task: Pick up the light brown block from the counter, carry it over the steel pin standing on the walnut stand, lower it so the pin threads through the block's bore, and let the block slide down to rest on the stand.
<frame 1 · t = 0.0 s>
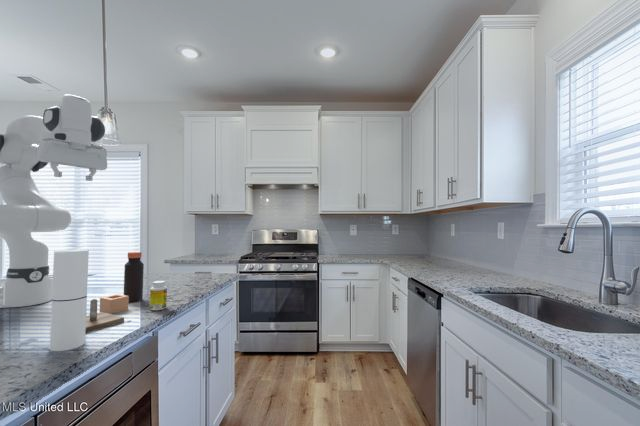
hand: (74, 178, 107), 48 cm above the worktop, tool pointing down, fingers open, 8 cm apart
pin stand: (93, 324, 95), on the worktop
supplement bottle: (158, 309, 113), on the worktop
light brown block: (114, 310, 110), on the worktop
cylindrical container: (67, 346, 79), on the worktop
vinegar: (133, 300, 124), on the worktop
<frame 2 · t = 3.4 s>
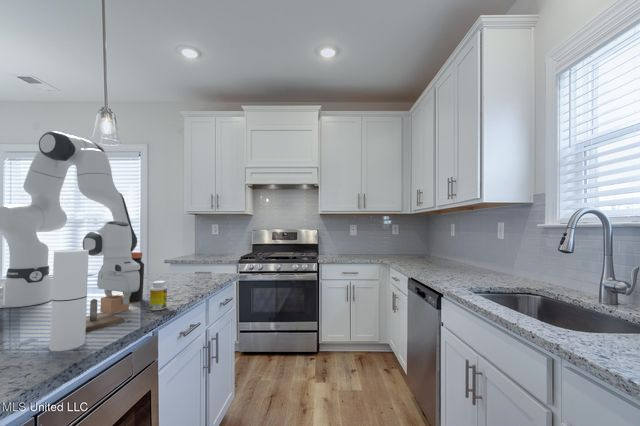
hand: (117, 302, 110), 3 cm above the worktop, tool pointing down, fingers open, 8 cm apart
light brown block: (114, 310, 110), on the worktop, touching gripper
vinegar: (133, 300, 124), on the worktop, touching arm
everything else where it was.
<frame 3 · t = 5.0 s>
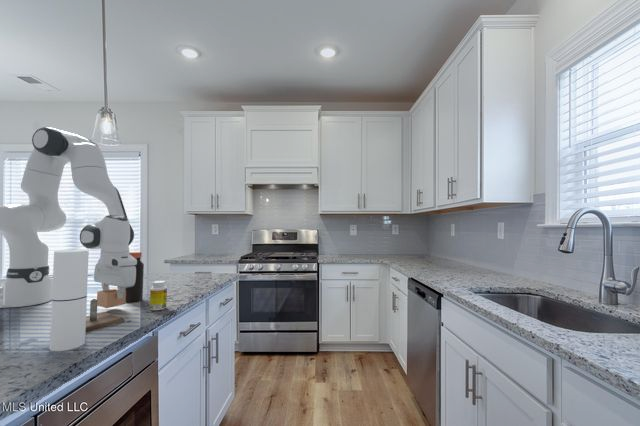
hand: (112, 296, 110), 5 cm above the worktop, tool pointing down, fingers closed on light brown block, 6 cm apart
light brown block: (111, 304, 110), point 2 cm above the worktop, touching gripper
vinegar: (133, 300, 124), on the worktop
everything else where it was.
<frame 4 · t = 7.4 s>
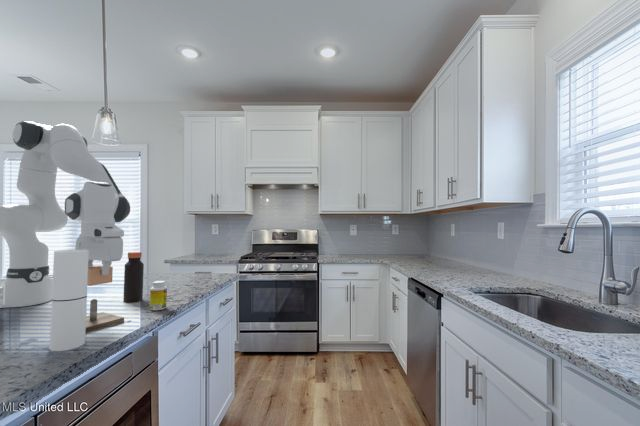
hand: (97, 274, 96), 16 cm above the worktop, tool pointing down, fingers closed on light brown block, 6 cm apart
light brown block: (95, 283, 96), point 13 cm above the worktop, touching gripper
everything else where it was.
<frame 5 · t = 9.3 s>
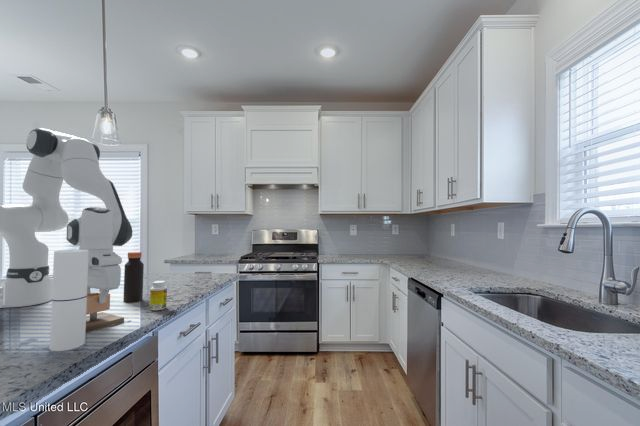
hand: (94, 301, 95), 7 cm above the worktop, tool pointing down, fingers closed on light brown block, 6 cm apart
light brown block: (93, 310, 95), point 5 cm above the worktop, touching gripper
everything else where it was.
when the fingers open (5 cm above the worktop, at t = 11.0 s): light brown block stays where it is, resting on pin stand.
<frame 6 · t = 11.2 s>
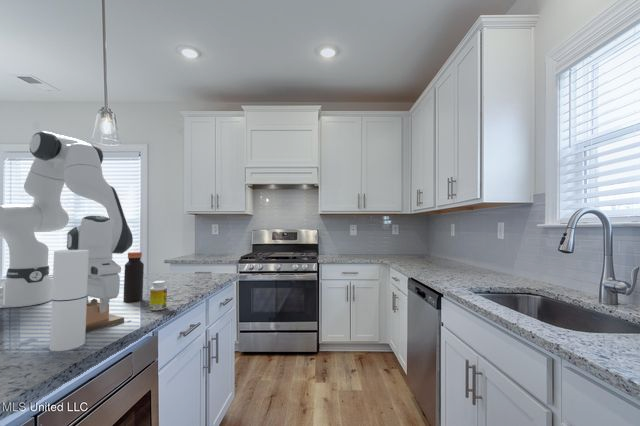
hand: (93, 310, 95), 5 cm above the worktop, tool pointing down, fingers open, 8 cm apart
light brown block: (91, 320, 95), point 1 cm above the worktop, touching pin stand
everything else where it was.
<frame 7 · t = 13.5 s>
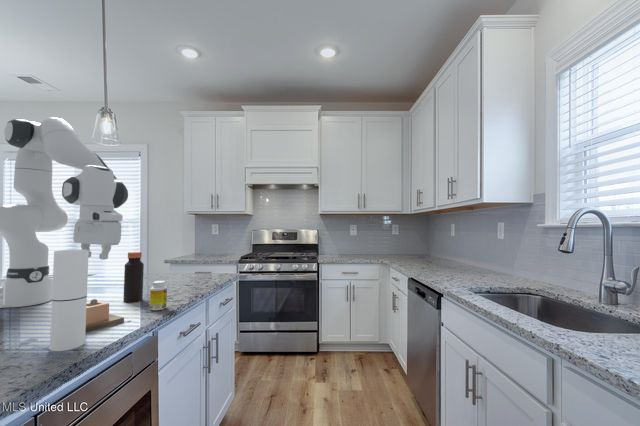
hand: (95, 258, 96), 21 cm above the worktop, tool pointing down, fingers open, 8 cm apart
nothing on the worktop moved.
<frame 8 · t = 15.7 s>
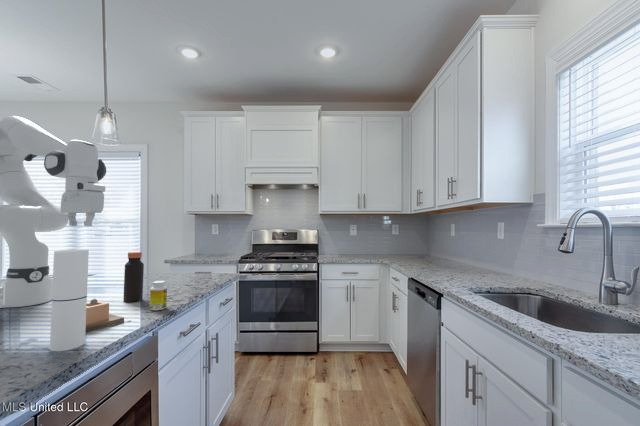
hand: (80, 226, 104), 31 cm above the worktop, tool pointing down, fingers open, 8 cm apart
nothing on the worktop moved.
at the end: light brown block 0.4 cm off-centre on the pin stand, point 1.5 cm above the pin stand's base; the gripper is holding nothing; light brown block tilted 0° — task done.
